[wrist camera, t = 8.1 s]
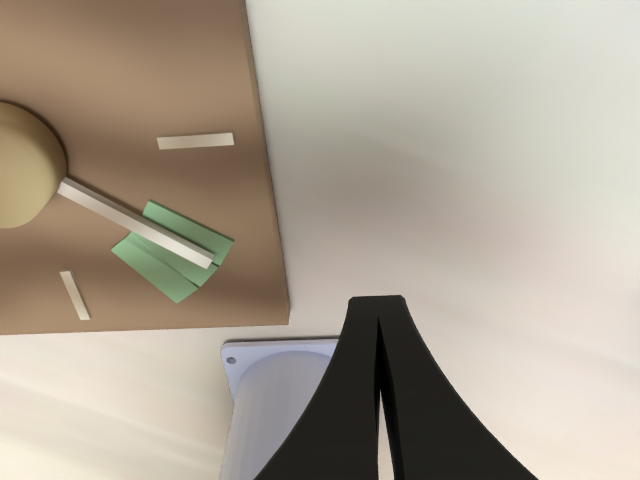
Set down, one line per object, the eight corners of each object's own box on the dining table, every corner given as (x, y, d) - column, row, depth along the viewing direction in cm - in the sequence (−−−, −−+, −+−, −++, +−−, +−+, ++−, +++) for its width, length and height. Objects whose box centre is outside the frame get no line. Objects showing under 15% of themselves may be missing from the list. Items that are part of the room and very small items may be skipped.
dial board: (290, 308, 28) (288, 327, 26) (-77, 322, 29) (-95, 341, 28) (217, -185, 17) (207, -191, 15) (-370, -122, 18) (-418, -122, 17)
